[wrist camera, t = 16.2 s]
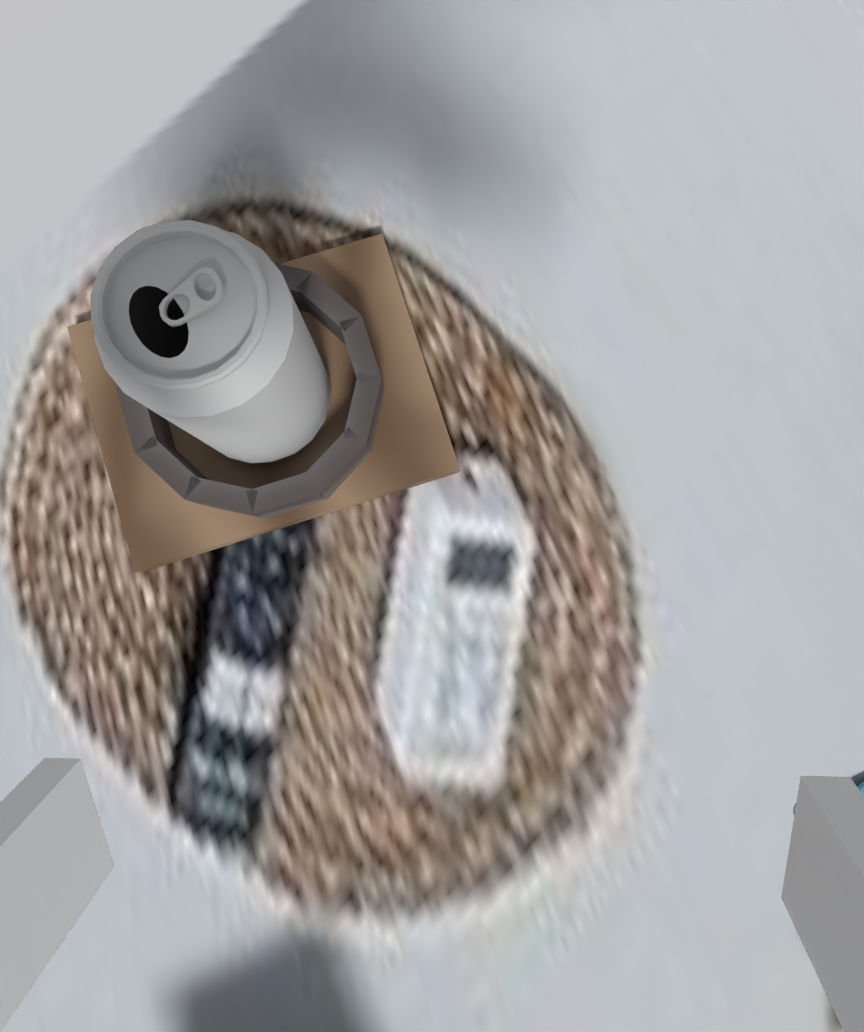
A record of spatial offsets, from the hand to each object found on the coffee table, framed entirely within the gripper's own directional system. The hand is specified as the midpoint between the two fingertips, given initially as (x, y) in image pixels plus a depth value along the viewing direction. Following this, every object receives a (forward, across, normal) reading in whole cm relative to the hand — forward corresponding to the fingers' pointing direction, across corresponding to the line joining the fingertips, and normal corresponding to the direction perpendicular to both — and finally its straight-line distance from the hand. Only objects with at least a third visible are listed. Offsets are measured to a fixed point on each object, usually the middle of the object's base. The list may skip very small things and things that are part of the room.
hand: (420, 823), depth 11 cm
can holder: (+24, -12, +4) cm, 27 cm away
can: (+24, -11, +5) cm, 27 cm away
